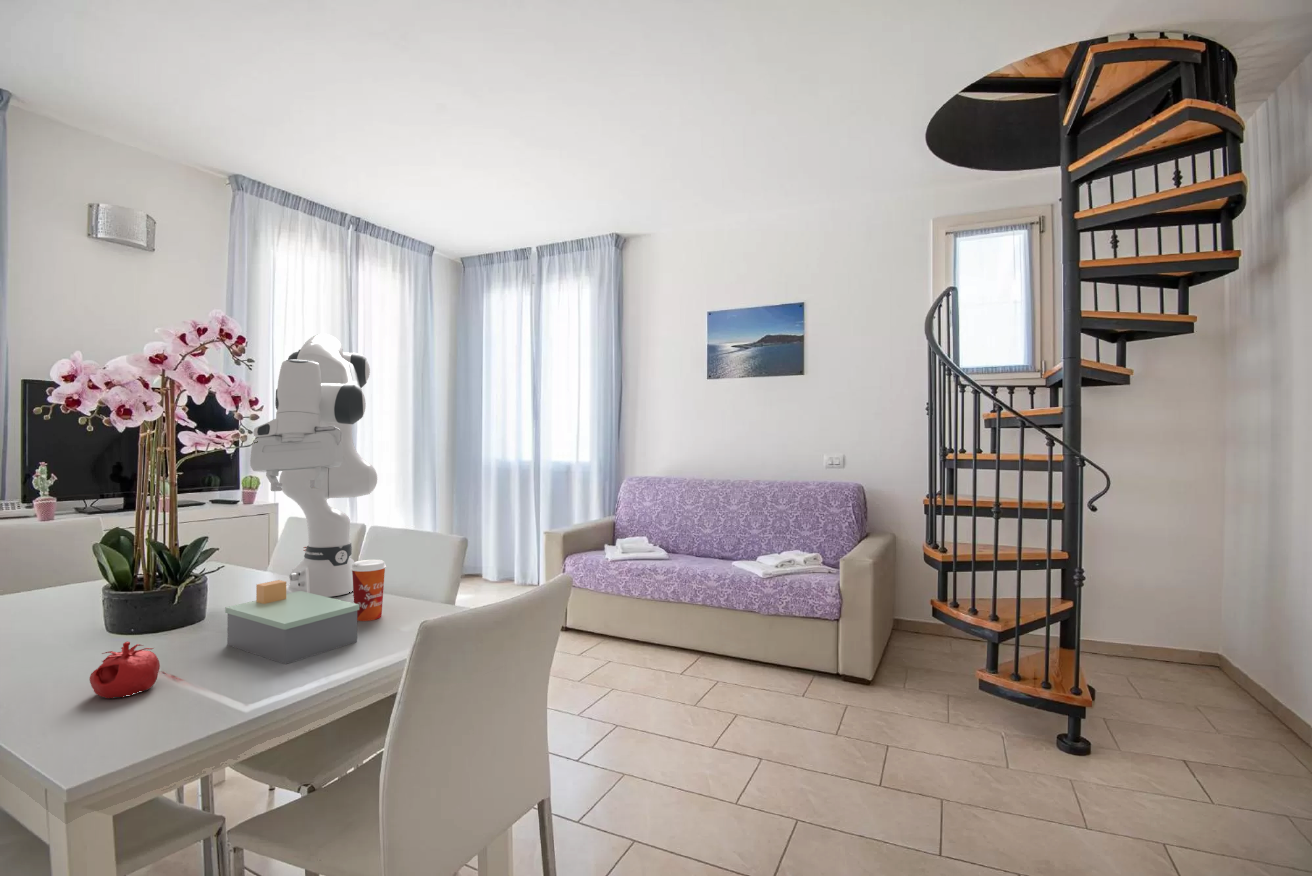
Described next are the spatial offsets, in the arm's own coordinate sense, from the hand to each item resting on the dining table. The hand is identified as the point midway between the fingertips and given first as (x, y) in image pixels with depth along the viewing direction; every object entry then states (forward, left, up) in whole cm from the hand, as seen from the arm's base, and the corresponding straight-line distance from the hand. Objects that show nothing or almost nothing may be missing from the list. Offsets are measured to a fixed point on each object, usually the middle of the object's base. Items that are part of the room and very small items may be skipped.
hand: (295, 489), depth 138 cm
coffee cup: (-3, +21, -35) cm, 41 cm away
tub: (0, 0, -35) cm, 35 cm away
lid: (0, 0, -27) cm, 27 cm away
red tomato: (-3, -29, -35) cm, 46 cm away
